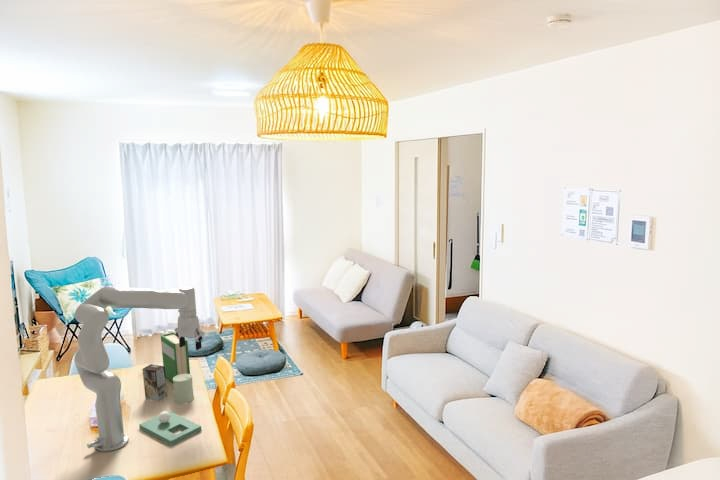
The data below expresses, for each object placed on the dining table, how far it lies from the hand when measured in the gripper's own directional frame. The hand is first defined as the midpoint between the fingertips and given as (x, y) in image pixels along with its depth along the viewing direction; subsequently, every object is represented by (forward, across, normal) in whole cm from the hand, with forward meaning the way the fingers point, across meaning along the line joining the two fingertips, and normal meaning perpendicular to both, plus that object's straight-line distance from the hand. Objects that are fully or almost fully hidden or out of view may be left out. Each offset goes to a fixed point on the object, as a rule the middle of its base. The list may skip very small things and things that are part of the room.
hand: (190, 347), depth 252 cm
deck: (+29, +5, -22) cm, 37 cm away
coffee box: (+29, -24, -1) cm, 38 cm away
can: (+29, -9, +3) cm, 31 cm away
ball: (+25, +1, -21) cm, 33 cm away
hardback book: (+29, -28, +19) cm, 45 cm away
